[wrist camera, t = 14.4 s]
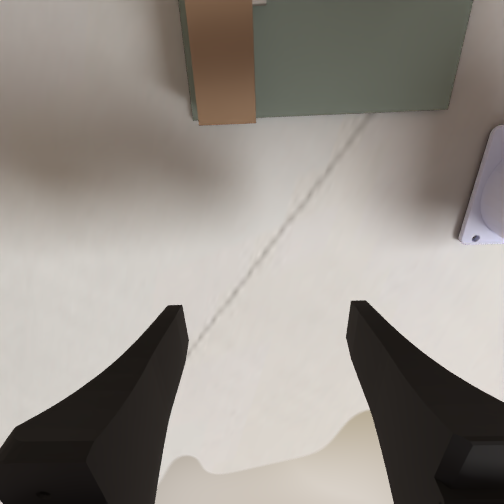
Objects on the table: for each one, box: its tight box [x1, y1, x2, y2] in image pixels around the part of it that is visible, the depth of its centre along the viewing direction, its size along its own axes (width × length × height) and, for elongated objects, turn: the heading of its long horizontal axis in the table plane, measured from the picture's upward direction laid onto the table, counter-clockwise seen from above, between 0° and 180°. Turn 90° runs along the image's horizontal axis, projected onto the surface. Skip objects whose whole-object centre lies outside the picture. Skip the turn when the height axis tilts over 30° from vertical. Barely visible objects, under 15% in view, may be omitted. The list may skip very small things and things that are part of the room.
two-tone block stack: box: [185, 0, 266, 125], centre depth 15 cm, size 9×4×5 cm, turn 2°
